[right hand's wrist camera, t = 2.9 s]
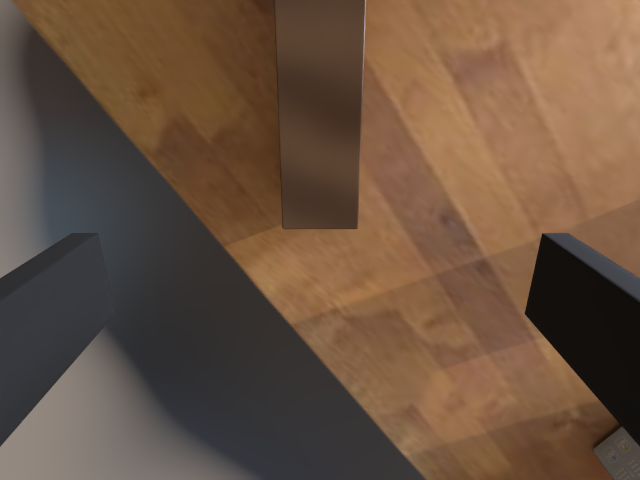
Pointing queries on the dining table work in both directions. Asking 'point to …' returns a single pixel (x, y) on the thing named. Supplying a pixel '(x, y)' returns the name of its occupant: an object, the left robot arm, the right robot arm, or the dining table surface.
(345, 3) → the beam
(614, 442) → the hard drive box
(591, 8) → the dining table surface
